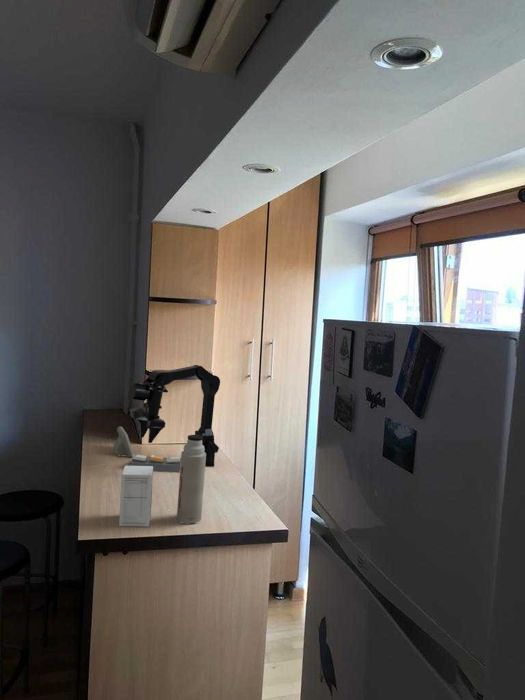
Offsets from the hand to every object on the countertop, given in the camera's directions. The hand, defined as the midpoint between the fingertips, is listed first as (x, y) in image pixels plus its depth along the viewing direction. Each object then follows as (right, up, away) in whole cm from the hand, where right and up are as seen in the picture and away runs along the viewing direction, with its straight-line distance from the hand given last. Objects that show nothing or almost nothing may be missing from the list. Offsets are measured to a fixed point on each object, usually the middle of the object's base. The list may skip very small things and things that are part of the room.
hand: (145, 440), depth 221 cm
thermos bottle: (+22, -20, -39) cm, 50 cm away
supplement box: (+6, -19, -44) cm, 48 cm away
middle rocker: (+3, -9, +8) cm, 13 cm away
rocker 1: (-4, -9, +8) cm, 12 cm away
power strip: (+2, -13, +11) cm, 17 cm away
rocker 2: (+10, -10, +9) cm, 16 cm away
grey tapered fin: (-15, -11, +27) cm, 33 cm away
